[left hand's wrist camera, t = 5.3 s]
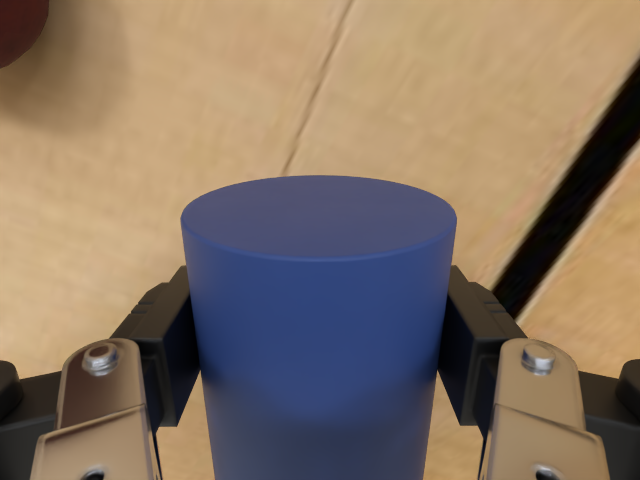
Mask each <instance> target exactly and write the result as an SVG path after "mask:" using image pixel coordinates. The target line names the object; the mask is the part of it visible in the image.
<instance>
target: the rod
mask: <svg viewBox="0 0 640 480" xmlns="http://www.w3.org/2000/svg"><path fill="white" fill-rule="evenodd" d="M456 224H457V217H456V214H455V211H454V209H453V208H452V207H451V206H450V204H448V203H447V202H446V201H444V200H443V199H441V198H439V197H438V196H436V195H434V194H431V193H429V192H427V191H424V190H421V189H418V188H415V187H411V186H408V185H404V184H400V183H395V182H390V181H384V180H378V179H371V178H361V177H350V176H325V175H313V176H289V177H277V178H267V179H260V180H254V181H248V182H243V183H238V184H234V185H230V186H227V187H223V188H220V189H217V190H214V191H211V192H209V193H207V194H204V195H202V196H200V197H198V198H197V199H195V200H193V201H192V202H191V203H189V204H188V205H187V206H186V208H185V209H184V210H183V213H182V215H181V229H182V236H183V244H184V251H185V259H186V266H187V273H188V281H189V288H190V296H191V303H192V311H193V318H194V325H195V333H196V340H197V348H198V355H199V363H200V370H201V377H202V385H203V392H204V400H205V407H206V415H207V422H208V429H209V437H210V444H211V452H212V459H213V467H214V474H215V480H423V474H424V467H425V459H426V451H427V444H428V436H429V429H430V421H431V414H432V406H433V398H434V391H435V383H436V376H437V368H438V360H439V353H440V345H441V338H442V330H443V323H444V315H445V307H446V300H447V292H448V285H449V277H450V270H451V262H452V254H453V247H454V239H455V232H456Z"/></svg>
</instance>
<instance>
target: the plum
mask: <svg viewBox="0 0 640 480" xmlns="http://www.w3.org/2000/svg"><path fill="white" fill-rule="evenodd" d="M48 7H49V0H0V68H2V67H5V66H8V65H9V64H11V63H12V62H13V61H15V60H16V59H17V58H19V57H20V56H21V55H22V54H23V53H25V52H26V51H27V50H28V49H29V48H30V47H31V46H32V45H33V43H34V42H35V41H36V39H37V38H38V36H39V35H40V33H41V31H42V28H43V26H44V24H45V21H46V19H47V16H48Z"/></svg>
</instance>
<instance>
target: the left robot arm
mask: <svg viewBox="0 0 640 480" xmlns="http://www.w3.org/2000/svg"><path fill="white" fill-rule="evenodd" d="M437 370H438V372H439V374H440V377H441V379H442V382H443V384H444V387H445V389H446V392H447V394H448V397H449V399H450V402H451V404H452V407H453V409H454V412H455V414H456V417H457V419H458V422H459V424H460V426H478V427H479V429H480V431H481V434H482V436H483V442H482V447H481V453H480V460H479V467H478V473H477V480H640V359H635V360H630V361H628V362H626V363H625V364H624V365H623V368H622V371H621V374H620V377H619V379H616V378H611V377H606V376H601V375H596V374H591V373H586V372H582V371H578V368H577V365H576V363H575V361H574V360H573V359H572V358H571V357H570V356H569V355H568V354H567V353H565V352H564V351H562V350H561V349H559V348H557V347H555V346H553V345H551V344H548V343H546V342H543V341H539V340H535V339H528V337H527V336H526V335H525V334H524V332H523V331H522V330H521V329H520V327H519V326H518V325H517V324H516V323H515V321H514V320H513V319H512V318H511V316H510V315H509V314H508V313H506V310H505V309H504V308H503V306H502V305H501V304H499V301H498V300H497V299H496V298H495V296H494V295H493V294H492V293H491V291H489V290H487V289H486V288H484V287H483V286H481V285H479V284H478V283H476V282H468V281H467V279H466V278H465V276H464V275H463V274H462V272H461V271H460V270H459V268H458V267H457V266H456V265H451V270H450V277H449V285H448V292H447V300H446V307H445V315H444V323H443V330H442V338H441V345H440V353H439V360H438V368H437ZM199 372H200V363H199V355H198V348H197V340H196V333H195V325H194V318H193V311H192V303H191V296H190V288H189V281H188V273H187V266H181V267H180V268H179V270H178V271H177V272H176V274H175V275H174V276H173V278H172V279H171V280H170V282H169V283H161V284H159V285H157V286H156V287H154V288H152V289H151V290H149V291H148V292H146V294H145V295H144V296H143V297H142V299H141V300H140V301H139V302H138V305H136V306H135V307H134V308H133V310H132V311H131V314H129V315H128V316H127V317H126V318H125V320H124V321H123V322H122V323H121V324H120V326H119V327H118V328H117V329H116V331H115V332H114V333H113V334H112V336H111V337H110V338H109V339H105V340H101V341H97V342H94V343H92V344H89V345H87V346H85V347H83V348H81V349H79V350H78V351H76V352H75V353H73V354H72V355H71V356H70V357H69V358H68V359H67V360H66V361H65V363H64V365H63V368H62V371H58V372H54V373H50V374H45V375H40V376H35V377H30V378H25V379H20V380H19V377H18V374H17V371H16V368H15V366H14V365H13V364H12V363H10V362H7V361H1V360H0V480H163V473H162V467H161V460H160V453H159V447H158V442H157V437H156V432H157V430H158V428H159V427H177V425H178V423H179V420H180V418H181V415H182V413H183V411H184V408H185V406H186V403H187V401H188V398H189V396H190V394H191V391H192V389H193V386H194V384H195V381H196V379H197V377H198V374H199Z"/></svg>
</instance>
